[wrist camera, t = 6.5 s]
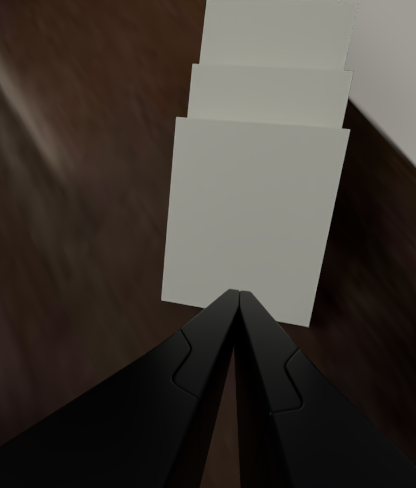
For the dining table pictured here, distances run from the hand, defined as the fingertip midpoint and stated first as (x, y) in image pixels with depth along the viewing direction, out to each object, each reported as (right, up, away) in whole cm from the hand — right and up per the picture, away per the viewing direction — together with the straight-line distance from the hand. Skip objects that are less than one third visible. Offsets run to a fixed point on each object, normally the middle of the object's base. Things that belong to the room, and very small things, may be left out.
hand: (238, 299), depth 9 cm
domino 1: (+1, -2, +8) cm, 9 cm away
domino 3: (+2, +7, +11) cm, 13 cm away
